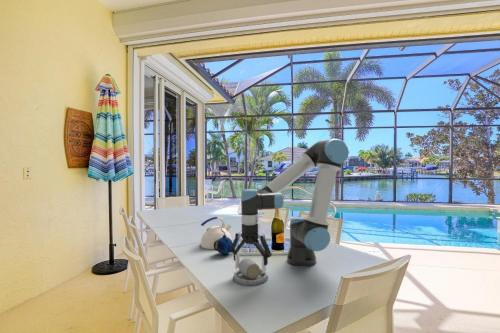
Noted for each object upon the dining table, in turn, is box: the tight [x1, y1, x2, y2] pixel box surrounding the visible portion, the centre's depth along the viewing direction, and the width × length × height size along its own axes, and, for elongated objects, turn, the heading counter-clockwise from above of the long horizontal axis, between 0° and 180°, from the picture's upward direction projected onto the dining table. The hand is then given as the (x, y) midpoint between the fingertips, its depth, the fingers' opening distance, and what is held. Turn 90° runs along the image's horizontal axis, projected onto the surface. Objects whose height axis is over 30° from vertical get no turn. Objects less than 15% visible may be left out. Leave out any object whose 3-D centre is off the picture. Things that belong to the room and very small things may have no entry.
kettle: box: [200, 216, 233, 250], centre depth 180 cm, size 20×21×18 cm
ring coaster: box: [232, 268, 269, 286], centre depth 127 cm, size 16×16×2 cm
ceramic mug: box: [238, 257, 263, 279], centre depth 127 cm, size 11×8×8 cm
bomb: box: [213, 228, 234, 255], centre depth 160 cm, size 10×11×15 cm
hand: (250, 269), depth 127 cm, fingers open, 13 cm apart
